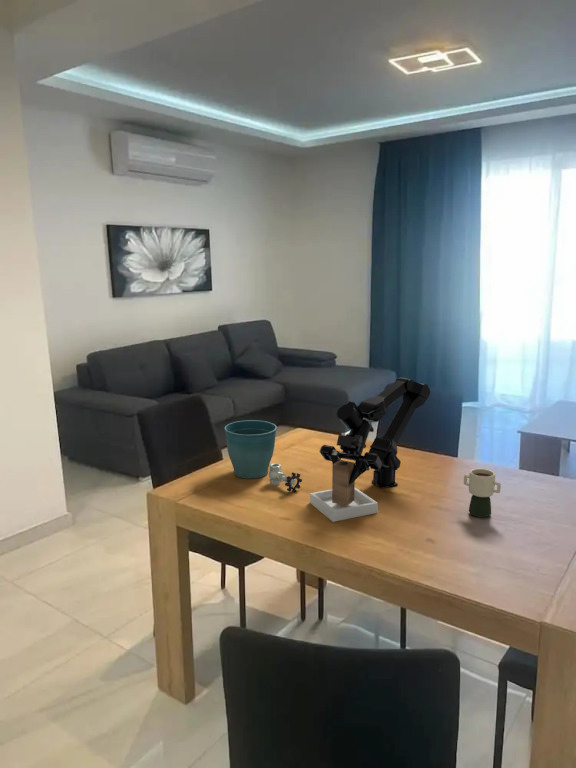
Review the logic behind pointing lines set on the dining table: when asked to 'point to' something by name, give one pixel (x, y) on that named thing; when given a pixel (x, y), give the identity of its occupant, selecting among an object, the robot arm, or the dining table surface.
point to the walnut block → (342, 483)
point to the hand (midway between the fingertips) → (341, 482)
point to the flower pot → (250, 447)
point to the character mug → (481, 491)
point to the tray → (341, 512)
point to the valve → (283, 478)
